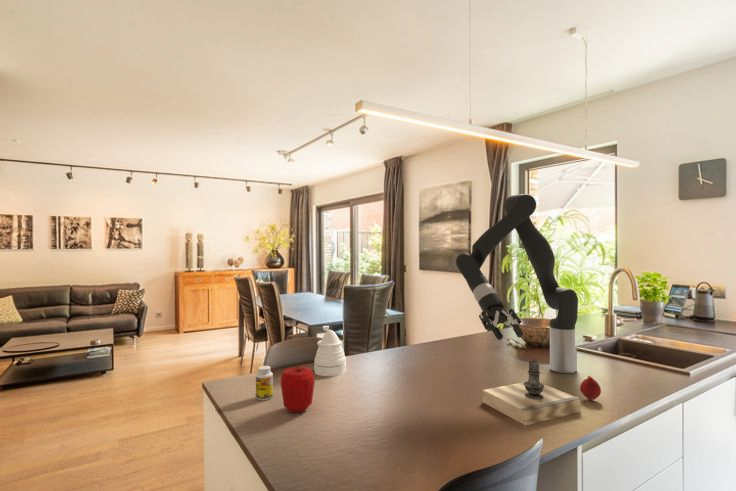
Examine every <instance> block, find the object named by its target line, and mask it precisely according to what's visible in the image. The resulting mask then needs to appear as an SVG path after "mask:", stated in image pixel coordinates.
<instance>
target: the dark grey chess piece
mask: <svg viewBox="0 0 736 491" xmlns="http://www.w3.org/2000/svg"><path fill="white" fill-rule="evenodd" d="M527 373H528V380H527V381H524V382H525V383H524V385H525V388H526V390H527V391H528V393H526V394H525V396H526V397H527V398H530V399H536V400H539V399H543V396H542V395H541V394H540V393H541V392H542V391H543V388H544V385H545V384H544V383H542V382H540V375H541V372H540V363H539V361H538V360H536V358H535V357H533V358H532V359H531V360H530V361H529V362H528V371H527ZM543 384H544V385H543Z"/></svg>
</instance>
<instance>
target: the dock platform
mask: <svg viewBox="0 0 736 491" xmlns="http://www.w3.org/2000/svg"><path fill="white" fill-rule="evenodd" d="M525 382H526V381H523V382H518V383H514V384H507V385H503V386H497V387H491V388H486V389H482V403H483V404H485V405H487V406H489V407H490V408H493V409H494V410H496V411H498V412H499V413H502V414H503V415H505V416H507V417H509V418H511V419H513V420H514V421H516V422H518V423H521V424H522V425H523V426H529V425H530V426H531V425H534V424H538V423H542V422H545V421H549V420H554V419H558V418H561V417H566V416H570V415H574V414H579V413H581V398H580V397H578V396H575V395H573V394H569V393H567V392H565V391H561V390H559V389H557V388H554V387H551V386H549V385H547V384H544V383H542V384H543V385H544V388H543V391H542V392H541V393H540V394H541V395H542V396H543V399H539V400H536V399H530V398H527V397H526V396H525V394H526V393H528V391H527V390H526V388H525V385H524V383H525Z"/></svg>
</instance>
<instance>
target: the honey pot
mask: <svg viewBox="0 0 736 491" xmlns="http://www.w3.org/2000/svg"><path fill="white" fill-rule="evenodd" d="M322 330H323V331H324V332H325V333H324V334H323V335H322V338H321V339H320V340H318V341H317V343H316V344H317V346H318V349H316V354H315V357H314V360H313V361H314V362H313V363H314V365H313V366H314V369H313V370H314V372H313V373H314V374H316V375H317V376H323V377H335V376H340V375H344V374H345V373H346V372H347V357H346V355H345V351H344V349H343V346H342V343H343V342H342V340H341V339H340V338H339V337H338V334H336V332H335V331H334V330H332V329H330V325H323V326H322Z"/></svg>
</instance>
